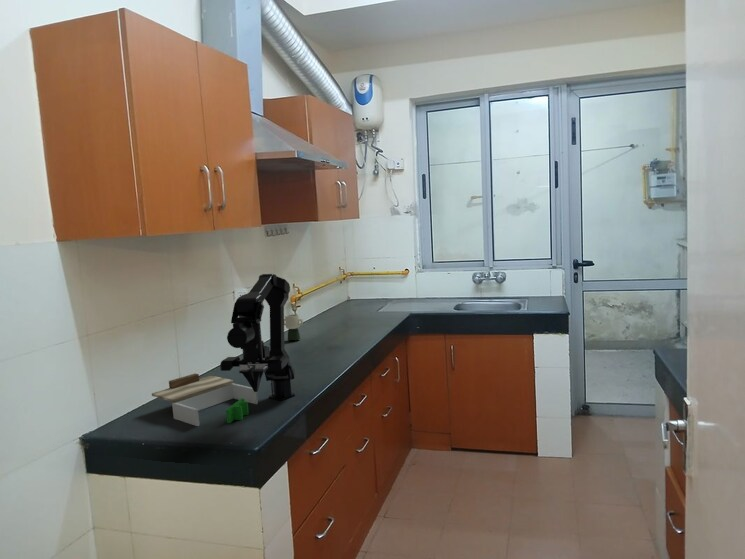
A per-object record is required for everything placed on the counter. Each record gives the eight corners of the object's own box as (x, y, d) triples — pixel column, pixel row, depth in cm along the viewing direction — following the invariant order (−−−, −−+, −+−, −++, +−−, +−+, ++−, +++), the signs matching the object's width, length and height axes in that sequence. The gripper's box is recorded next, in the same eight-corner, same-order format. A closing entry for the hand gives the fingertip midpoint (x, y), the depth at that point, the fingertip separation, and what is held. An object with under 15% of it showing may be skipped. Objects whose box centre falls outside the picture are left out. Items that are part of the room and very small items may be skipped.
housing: (257, 403, 175) (256, 388, 174) (197, 426, 157) (195, 409, 157) (233, 397, 183) (232, 383, 182) (173, 418, 165) (172, 402, 165)
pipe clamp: (238, 424, 158) (236, 410, 157) (227, 423, 159) (225, 410, 158) (252, 411, 168) (251, 398, 168) (242, 411, 169) (240, 397, 168)
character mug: (306, 339, 271) (304, 314, 270) (301, 342, 264) (299, 316, 263) (287, 339, 274) (285, 314, 273) (281, 342, 267) (279, 316, 266)
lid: (233, 382, 182) (233, 373, 181) (173, 402, 164) (172, 392, 164) (211, 377, 190) (210, 368, 189) (151, 395, 172) (150, 386, 172)
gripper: (290, 333, 163) (294, 382, 164) (232, 334, 166) (237, 383, 167) (278, 341, 152) (283, 394, 153) (217, 343, 155) (222, 395, 156)
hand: (256, 391), depth 158 cm, fingers closed
